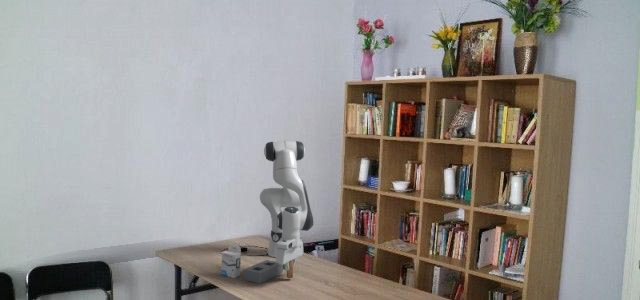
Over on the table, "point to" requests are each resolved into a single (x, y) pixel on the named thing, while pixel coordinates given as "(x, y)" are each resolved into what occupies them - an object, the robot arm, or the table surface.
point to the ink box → (231, 261)
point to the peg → (290, 272)
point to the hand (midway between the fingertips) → (289, 268)
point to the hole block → (262, 271)
